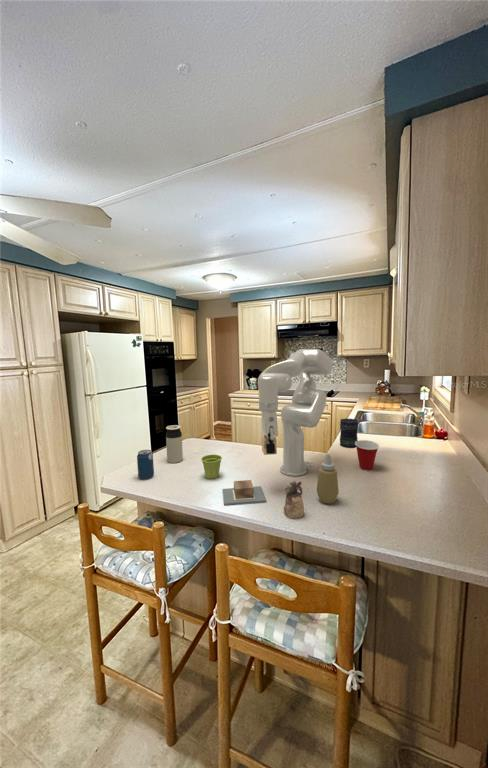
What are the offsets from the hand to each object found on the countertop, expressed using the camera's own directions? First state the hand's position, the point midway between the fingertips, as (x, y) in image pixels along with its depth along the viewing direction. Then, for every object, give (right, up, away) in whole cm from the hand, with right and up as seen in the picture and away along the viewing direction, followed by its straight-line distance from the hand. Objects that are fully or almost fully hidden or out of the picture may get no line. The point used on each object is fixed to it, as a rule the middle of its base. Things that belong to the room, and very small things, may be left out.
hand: (269, 450), depth 125 cm
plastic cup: (+48, -13, +22) cm, 55 cm away
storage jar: (+51, -9, +55) cm, 76 cm away
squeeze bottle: (+21, -17, -8) cm, 29 cm away
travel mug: (-46, -13, +36) cm, 60 cm away
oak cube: (0, -1, 0) cm, 1 cm away
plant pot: (-25, -16, +16) cm, 33 cm away
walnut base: (-10, -16, -4) cm, 20 cm away
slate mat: (-10, -17, -4) cm, 20 cm away
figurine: (+7, -19, -16) cm, 26 cm away
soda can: (-55, -16, +16) cm, 60 cm away
